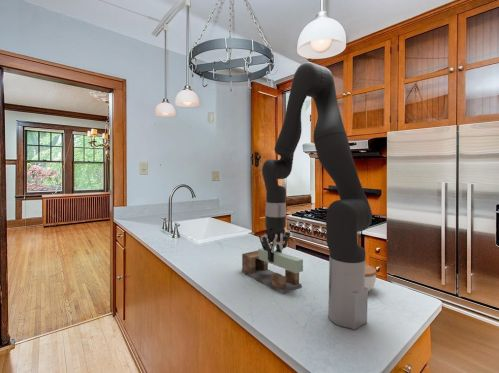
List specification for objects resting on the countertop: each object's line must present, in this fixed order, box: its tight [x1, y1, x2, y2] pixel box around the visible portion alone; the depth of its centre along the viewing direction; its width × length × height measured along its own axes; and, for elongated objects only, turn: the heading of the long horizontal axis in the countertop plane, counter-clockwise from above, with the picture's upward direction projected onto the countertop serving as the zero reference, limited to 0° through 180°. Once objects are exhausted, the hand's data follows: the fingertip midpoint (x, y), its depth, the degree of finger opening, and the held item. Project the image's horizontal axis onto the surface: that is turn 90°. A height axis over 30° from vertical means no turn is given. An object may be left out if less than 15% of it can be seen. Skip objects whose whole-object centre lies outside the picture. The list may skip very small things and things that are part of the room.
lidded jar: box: [365, 263, 377, 292], centre depth 91 cm, size 11×11×9 cm
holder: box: [241, 250, 303, 295], centre depth 100 cm, size 24×9×8 cm, turn 37°
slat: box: [257, 247, 304, 274], centre depth 96 cm, size 20×3×4 cm, turn 37°
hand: (274, 260), depth 98 cm, fingers closed on slat, 3 cm apart
